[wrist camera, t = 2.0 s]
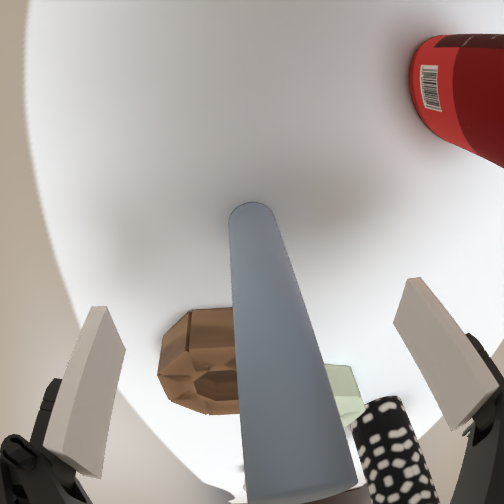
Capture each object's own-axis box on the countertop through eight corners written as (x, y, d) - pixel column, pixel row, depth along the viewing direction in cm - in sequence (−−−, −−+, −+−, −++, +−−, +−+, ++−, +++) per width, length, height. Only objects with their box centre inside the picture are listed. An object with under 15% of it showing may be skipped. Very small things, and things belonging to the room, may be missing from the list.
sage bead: (345, 352, 28) (357, 384, 24) (359, 392, 33) (368, 418, 29) (252, 385, 29) (256, 418, 26) (284, 419, 34) (289, 445, 31)
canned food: (446, 160, 18) (557, 232, 9) (383, 78, 15) (525, 101, 6) (493, 100, 15) (602, 142, 6) (440, 17, 12) (567, 17, 3)
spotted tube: (407, 402, 37) (447, 509, 20) (362, 428, 40) (393, 532, 23) (389, 390, 34) (436, 518, 17) (338, 419, 36) (370, 542, 19)
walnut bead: (280, 303, 23) (289, 341, 20) (277, 376, 28) (283, 409, 25) (154, 311, 23) (145, 350, 19) (179, 382, 28) (176, 415, 25)
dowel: (275, 200, 19) (372, 470, 5) (275, 242, 20) (344, 494, 7) (227, 203, 19) (244, 493, 5) (230, 245, 20) (249, 509, 7)
